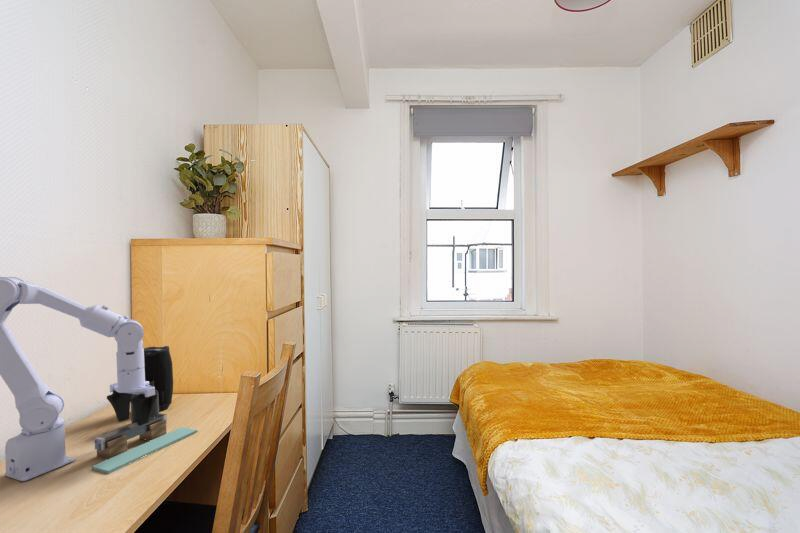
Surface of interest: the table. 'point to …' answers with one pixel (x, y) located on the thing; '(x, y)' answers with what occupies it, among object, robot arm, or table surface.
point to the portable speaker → (160, 373)
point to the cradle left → (113, 448)
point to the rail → (127, 431)
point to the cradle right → (155, 431)
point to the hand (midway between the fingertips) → (133, 422)
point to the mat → (143, 450)
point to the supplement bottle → (154, 408)
